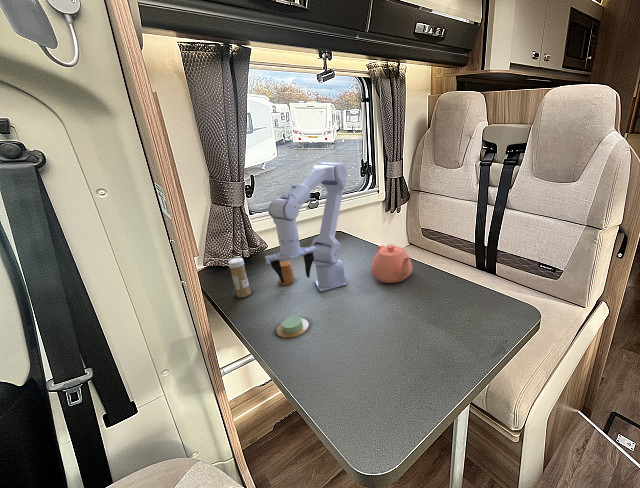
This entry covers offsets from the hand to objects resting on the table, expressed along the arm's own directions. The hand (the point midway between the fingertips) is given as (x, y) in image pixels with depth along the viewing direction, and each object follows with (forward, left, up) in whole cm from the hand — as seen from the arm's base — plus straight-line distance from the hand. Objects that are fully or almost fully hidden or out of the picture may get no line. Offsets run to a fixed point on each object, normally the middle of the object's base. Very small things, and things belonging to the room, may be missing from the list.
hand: (295, 279), depth 99 cm
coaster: (+4, +10, -10) cm, 15 cm away
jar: (+1, -20, -10) cm, 23 cm away
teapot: (-35, -3, -11) cm, 37 cm away
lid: (+4, +10, -9) cm, 14 cm away
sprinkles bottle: (+16, -18, -11) cm, 26 cm away
